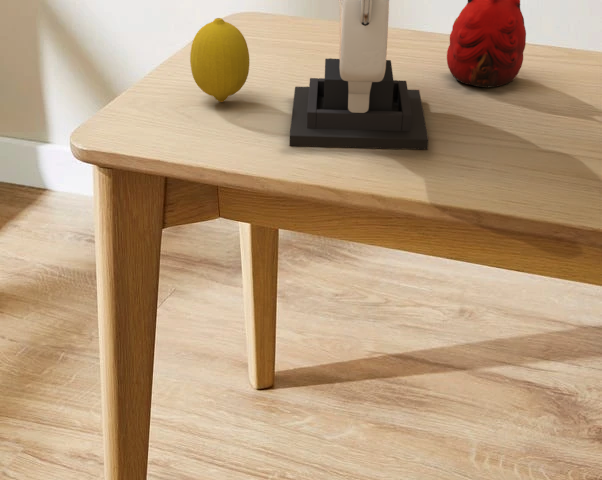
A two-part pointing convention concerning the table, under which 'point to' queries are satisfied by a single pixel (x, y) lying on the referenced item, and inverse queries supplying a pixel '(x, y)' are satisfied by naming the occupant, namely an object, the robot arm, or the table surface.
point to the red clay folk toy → (487, 43)
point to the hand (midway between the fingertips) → (357, 95)
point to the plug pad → (339, 91)
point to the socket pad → (358, 121)
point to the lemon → (219, 59)
